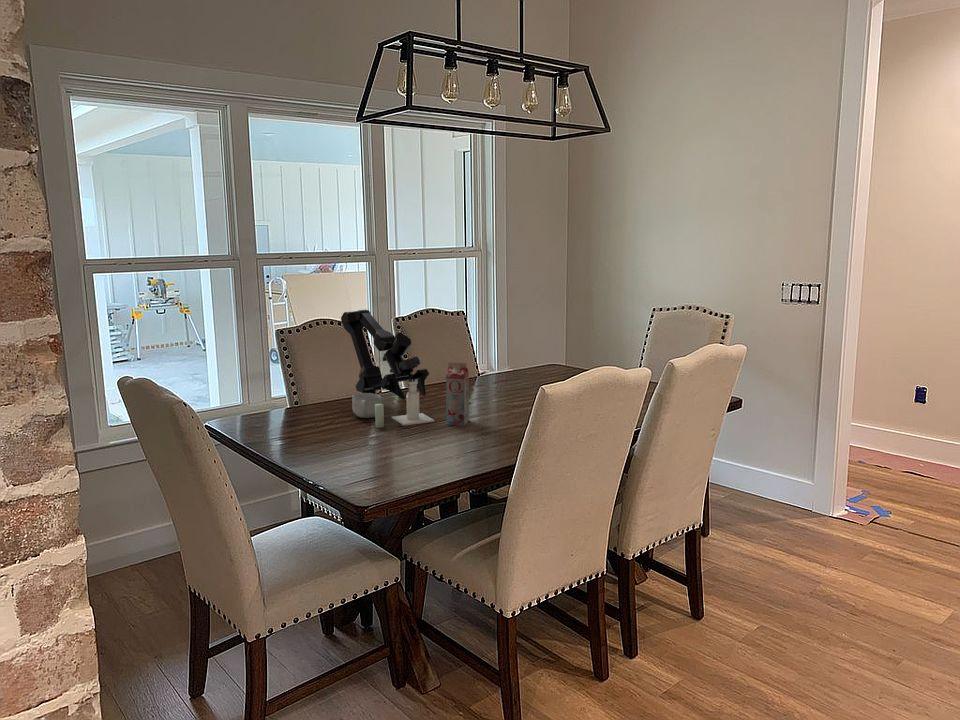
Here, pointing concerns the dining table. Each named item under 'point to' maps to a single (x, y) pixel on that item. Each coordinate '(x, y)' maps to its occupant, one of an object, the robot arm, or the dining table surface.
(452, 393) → the juice carton
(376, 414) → the post
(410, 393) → the vase
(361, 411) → the teacup
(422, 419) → the mat
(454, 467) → the dining table surface
